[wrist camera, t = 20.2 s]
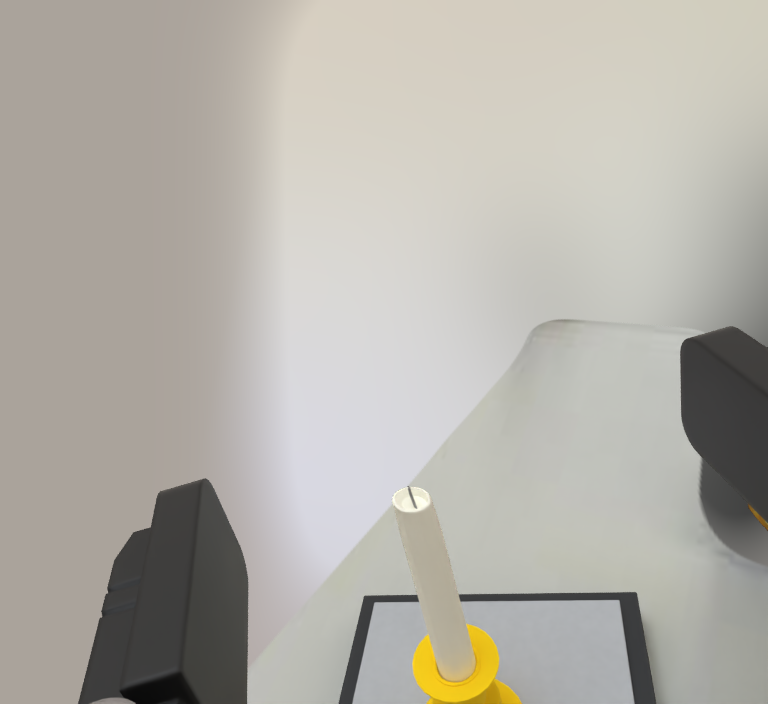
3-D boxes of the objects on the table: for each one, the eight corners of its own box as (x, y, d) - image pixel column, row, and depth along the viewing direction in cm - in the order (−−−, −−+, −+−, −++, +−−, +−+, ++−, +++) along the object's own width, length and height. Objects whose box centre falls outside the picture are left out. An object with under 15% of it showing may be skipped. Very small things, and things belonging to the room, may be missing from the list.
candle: (507, 667, 35) (455, 428, 27) (546, 767, 30) (497, 512, 23) (411, 698, 35) (332, 465, 27) (435, 803, 30) (349, 557, 23)
